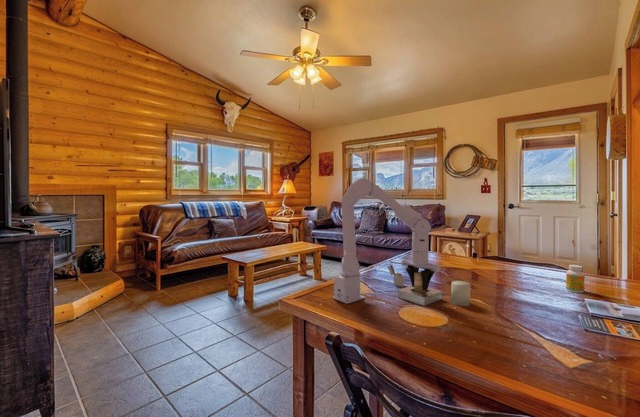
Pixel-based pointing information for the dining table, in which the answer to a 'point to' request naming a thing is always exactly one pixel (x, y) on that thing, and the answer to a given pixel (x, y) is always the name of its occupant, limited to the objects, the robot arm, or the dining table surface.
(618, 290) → the dining table surface
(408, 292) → the beige square frame
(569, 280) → the supplement bottle
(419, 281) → the oak peg
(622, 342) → the dining table surface
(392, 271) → the lighter
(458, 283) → the pale green rounded block
